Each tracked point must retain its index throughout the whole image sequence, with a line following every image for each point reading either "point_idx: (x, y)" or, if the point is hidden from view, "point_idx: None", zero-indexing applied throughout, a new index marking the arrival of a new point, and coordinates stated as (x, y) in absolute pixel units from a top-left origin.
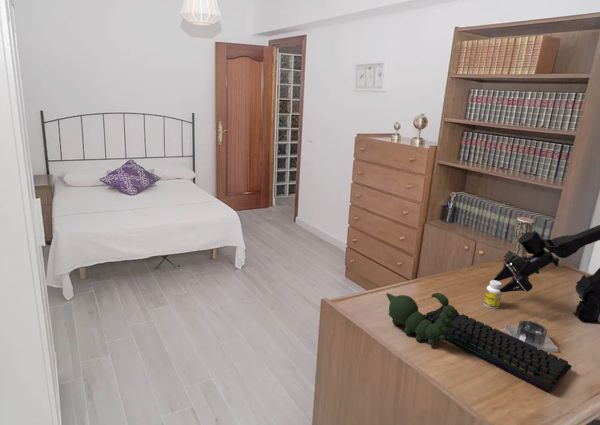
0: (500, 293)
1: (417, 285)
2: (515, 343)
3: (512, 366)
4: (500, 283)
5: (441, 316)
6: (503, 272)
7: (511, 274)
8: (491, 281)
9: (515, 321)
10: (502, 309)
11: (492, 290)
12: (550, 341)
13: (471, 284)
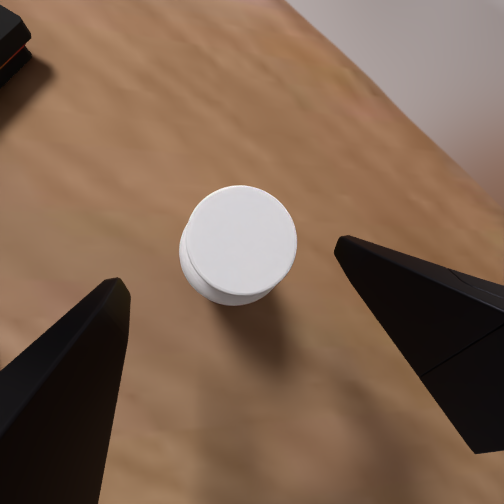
0: (201, 294)
1: (261, 11)
2: None
3: None
4: (240, 285)
5: None
6: (462, 315)
7: (479, 418)
8: (244, 197)
9: None
10: (212, 310)
11: (185, 231)
12: None
13: (375, 196)
